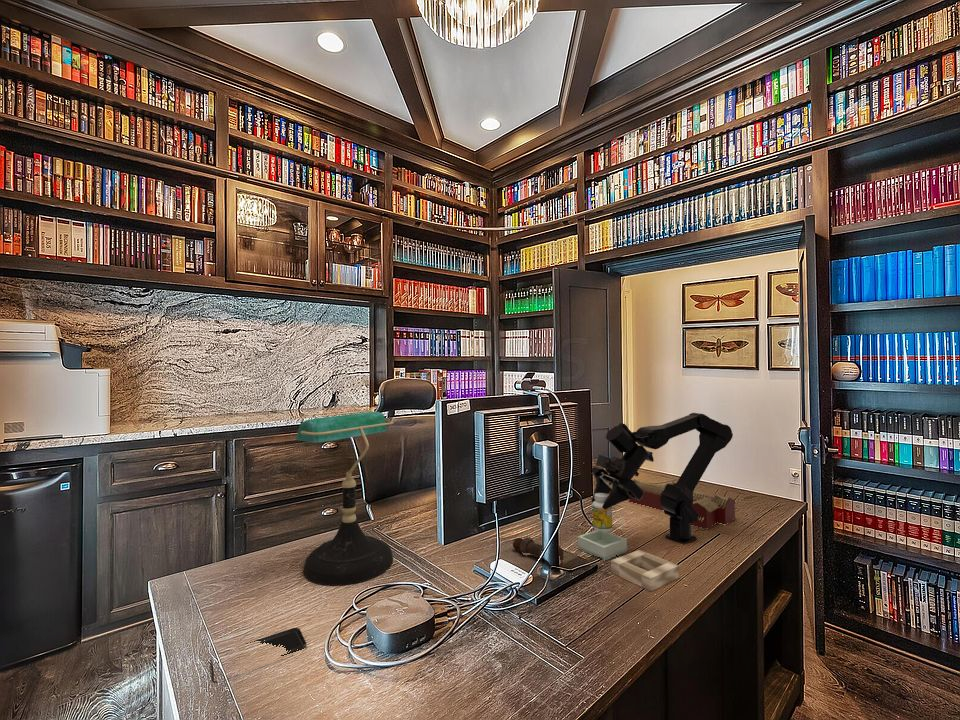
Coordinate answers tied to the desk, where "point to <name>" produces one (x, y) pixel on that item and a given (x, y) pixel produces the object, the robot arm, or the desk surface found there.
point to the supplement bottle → (601, 513)
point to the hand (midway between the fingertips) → (597, 505)
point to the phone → (286, 640)
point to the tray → (602, 544)
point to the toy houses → (705, 506)
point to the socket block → (649, 580)
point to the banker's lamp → (346, 510)
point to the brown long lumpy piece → (531, 547)
